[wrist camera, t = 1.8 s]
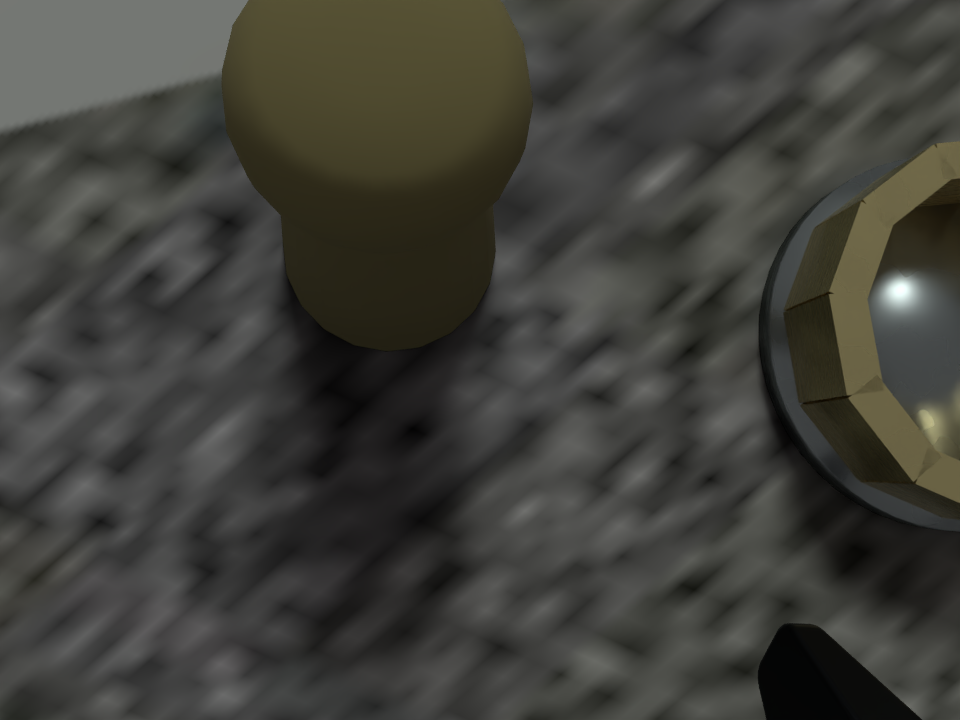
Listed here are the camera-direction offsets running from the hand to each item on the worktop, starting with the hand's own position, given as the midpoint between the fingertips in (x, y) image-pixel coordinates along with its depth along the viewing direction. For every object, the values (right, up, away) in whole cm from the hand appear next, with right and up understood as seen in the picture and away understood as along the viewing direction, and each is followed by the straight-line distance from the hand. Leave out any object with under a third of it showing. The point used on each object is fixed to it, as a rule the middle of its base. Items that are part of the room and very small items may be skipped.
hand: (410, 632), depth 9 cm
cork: (-2, +6, +14) cm, 15 cm away
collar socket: (+14, +4, +15) cm, 21 cm away
